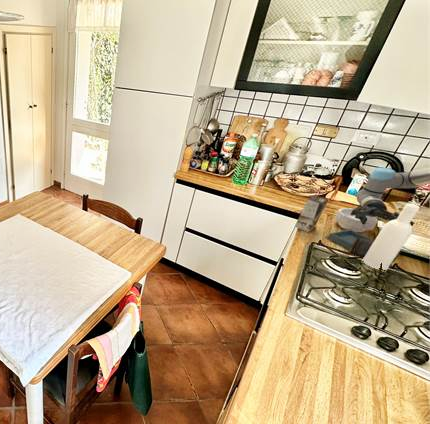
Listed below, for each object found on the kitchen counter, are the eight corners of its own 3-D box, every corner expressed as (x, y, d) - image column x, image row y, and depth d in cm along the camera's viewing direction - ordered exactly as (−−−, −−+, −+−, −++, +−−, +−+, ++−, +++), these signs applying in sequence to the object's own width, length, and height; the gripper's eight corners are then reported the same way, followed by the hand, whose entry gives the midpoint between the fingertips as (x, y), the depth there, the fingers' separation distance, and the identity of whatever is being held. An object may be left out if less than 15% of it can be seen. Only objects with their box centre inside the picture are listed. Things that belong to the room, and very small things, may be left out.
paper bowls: (325, 223, 161) (332, 210, 158) (341, 218, 167) (348, 205, 163) (360, 238, 149) (369, 224, 146) (376, 231, 155) (384, 218, 151)
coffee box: (308, 232, 153) (323, 204, 146) (294, 227, 158) (307, 199, 150) (315, 227, 158) (329, 199, 150) (301, 221, 163) (314, 194, 155)
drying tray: (379, 249, 141) (382, 244, 140) (358, 254, 138) (361, 249, 136) (346, 234, 153) (349, 229, 151) (327, 238, 149) (330, 233, 148)
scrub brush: (388, 264, 132) (400, 247, 127) (391, 268, 129) (403, 251, 125) (347, 253, 138) (357, 236, 134) (348, 257, 136) (358, 240, 131)
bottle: (383, 276, 124) (427, 212, 110) (357, 267, 130) (397, 204, 115) (386, 268, 129) (429, 206, 114) (361, 259, 134) (400, 198, 120)
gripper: (404, 220, 140) (422, 242, 125) (336, 206, 152) (344, 225, 136) (414, 206, 137) (433, 227, 121) (343, 193, 148) (352, 210, 132)
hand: (386, 226), depth 128 cm, fingers open, 13 cm apart
